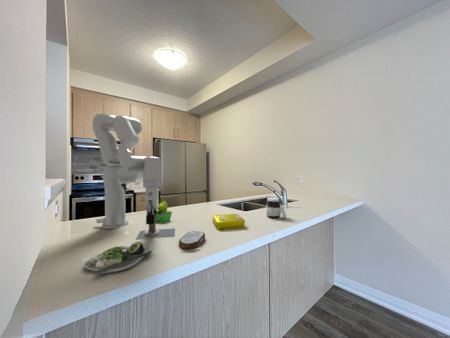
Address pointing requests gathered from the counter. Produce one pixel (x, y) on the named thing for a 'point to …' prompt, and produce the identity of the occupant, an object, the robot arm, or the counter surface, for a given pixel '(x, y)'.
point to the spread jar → (274, 208)
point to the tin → (192, 240)
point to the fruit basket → (163, 213)
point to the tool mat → (162, 234)
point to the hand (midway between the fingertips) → (151, 220)
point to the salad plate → (117, 258)
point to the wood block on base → (152, 229)
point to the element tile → (228, 221)
